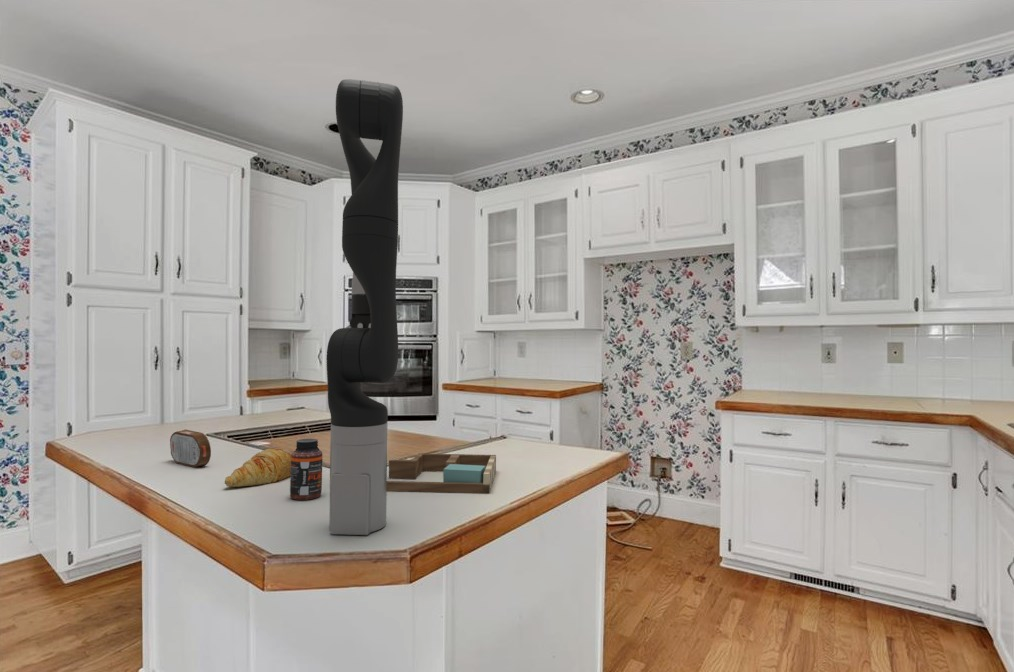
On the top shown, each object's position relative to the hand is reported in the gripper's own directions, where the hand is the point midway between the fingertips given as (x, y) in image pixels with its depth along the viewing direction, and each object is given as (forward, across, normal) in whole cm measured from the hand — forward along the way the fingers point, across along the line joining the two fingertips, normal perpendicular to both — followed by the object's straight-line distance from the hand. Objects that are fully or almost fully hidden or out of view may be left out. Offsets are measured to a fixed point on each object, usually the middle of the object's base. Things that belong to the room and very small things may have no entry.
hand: (368, 371), depth 119 cm
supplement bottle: (+25, -8, -14) cm, 29 cm away
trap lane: (+25, +16, +2) cm, 29 cm away
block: (+25, +22, -3) cm, 34 cm away
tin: (+25, -50, +10) cm, 56 cm away
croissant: (+25, -23, -1) cm, 34 cm away
